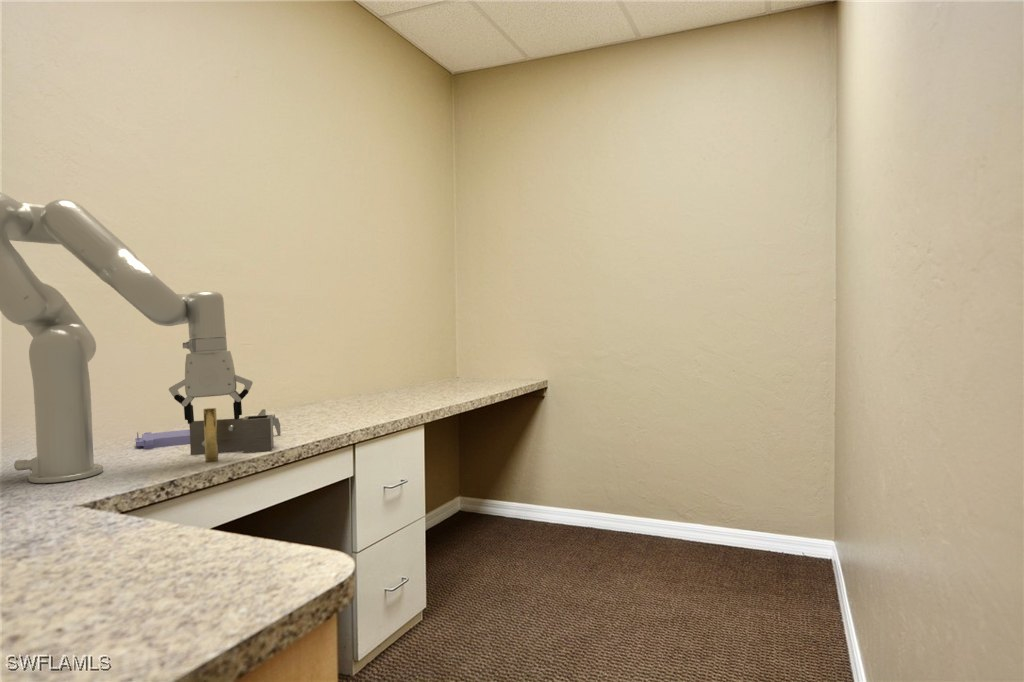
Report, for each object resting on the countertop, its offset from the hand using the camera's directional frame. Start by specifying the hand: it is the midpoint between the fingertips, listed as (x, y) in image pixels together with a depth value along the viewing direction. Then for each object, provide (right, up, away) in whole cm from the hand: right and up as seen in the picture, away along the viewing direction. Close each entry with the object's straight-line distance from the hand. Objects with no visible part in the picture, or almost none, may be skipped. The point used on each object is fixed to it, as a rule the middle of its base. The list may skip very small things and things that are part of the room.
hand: (214, 420), depth 139 cm
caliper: (-5, -9, +25) cm, 27 cm away
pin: (0, -9, 0) cm, 9 cm away
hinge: (-2, -9, +16) cm, 18 cm away
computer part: (-17, -9, +28) cm, 34 cm away
